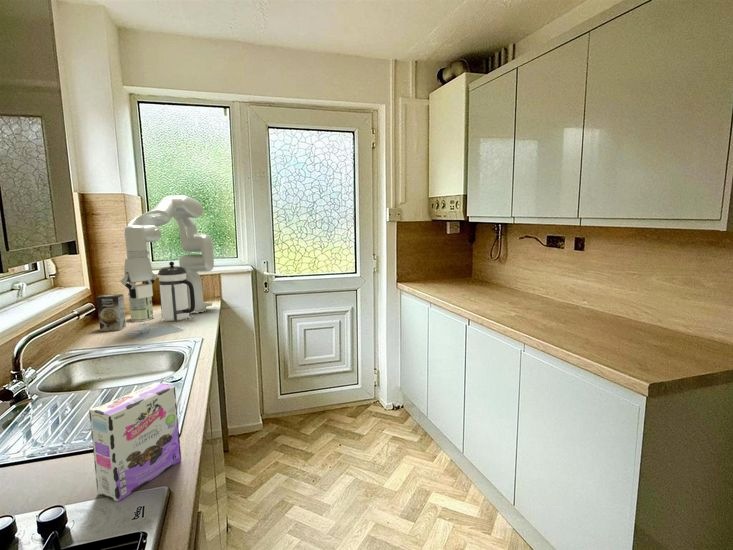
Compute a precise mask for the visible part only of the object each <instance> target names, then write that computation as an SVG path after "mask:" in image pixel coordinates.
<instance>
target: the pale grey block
mask: <svg viewBox="0 0 733 550" xmlns="http://www.w3.org/2000/svg"><path fill="white" fill-rule="evenodd" d="M138 329H139V330H138V331H139V332H140V333H141V334H144V333H148V332H149V329H150V325H149V323H148V322H147V323H146V322H144V323H141V324H138Z"/></svg>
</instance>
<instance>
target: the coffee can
mask: <svg viewBox="0 0 733 550" xmlns="http://www.w3.org/2000/svg"><path fill="white" fill-rule="evenodd" d="M128 296H129V292H128ZM152 297H153V296H150V297H145V298H140V299H137V298H135V299H134V298H129V297H128V302H129V303H128V304H129V310H130V321H131V322H135V321H138V322H144V321H143V320H146V321H150V320H149V319H151V320H152V318H153V317H154V309H153V299H152ZM153 319H154V318H153Z"/></svg>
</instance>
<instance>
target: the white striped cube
mask: <svg viewBox="0 0 733 550" xmlns="http://www.w3.org/2000/svg"><path fill="white" fill-rule="evenodd" d="M134 289H135V290H136V298H137V299H140V298H145V297H150V296H151V297H153V296H154V292H153V291H154V290H153V285H151V284H145V283H139V284H135V287H134ZM129 298H130V294H129V295H128V299H129Z"/></svg>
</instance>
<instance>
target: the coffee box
mask: <svg viewBox="0 0 733 550" xmlns="http://www.w3.org/2000/svg"><path fill="white" fill-rule="evenodd" d="M124 297H125V296H124V293H120V294H118V293H116V294H113V293H111V294H101V295H98V296H97V297H96V301H97V313H98V314H97V315H98V321H99V323H98V324H99V331H100V332H107V331H108V332H109V330H112V331H122V330H123V329H125V328H127V321H126V311H125V310H126V309H125V300H124ZM124 327H125V328H124ZM121 329H122V330H121Z"/></svg>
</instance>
